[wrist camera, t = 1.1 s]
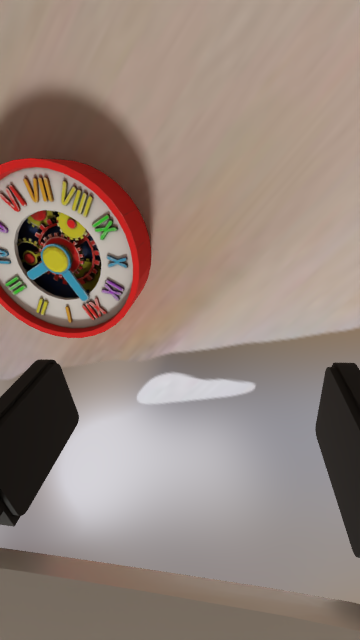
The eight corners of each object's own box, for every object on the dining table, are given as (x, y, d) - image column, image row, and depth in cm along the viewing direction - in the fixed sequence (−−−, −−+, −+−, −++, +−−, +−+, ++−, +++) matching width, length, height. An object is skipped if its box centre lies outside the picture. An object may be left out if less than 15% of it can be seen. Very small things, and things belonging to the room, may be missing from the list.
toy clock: (56, 109, 25) (173, 298, 32) (85, 119, 30) (180, 279, 37) (-71, 224, 31) (48, 359, 38) (-30, 216, 37) (69, 336, 44)
